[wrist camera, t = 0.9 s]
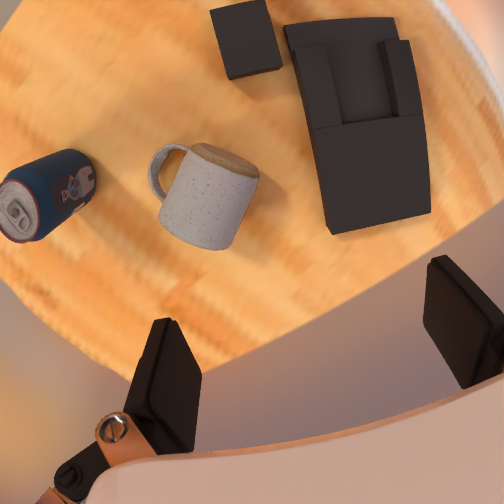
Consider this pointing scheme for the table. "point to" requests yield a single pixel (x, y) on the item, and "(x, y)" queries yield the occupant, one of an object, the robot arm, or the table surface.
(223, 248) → the ceramic mug
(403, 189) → the pad base
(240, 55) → the loose pad
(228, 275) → the table surface
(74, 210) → the soda can
